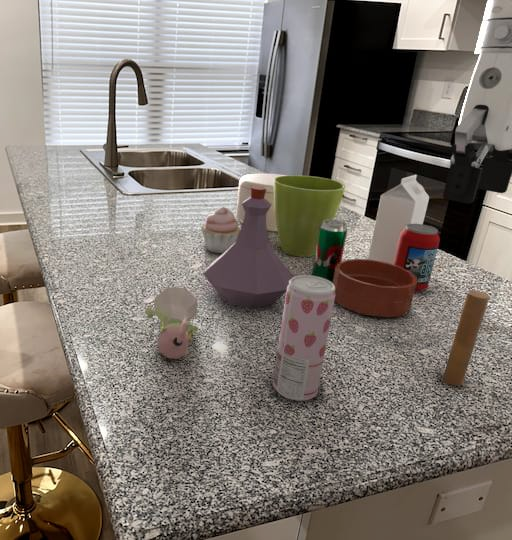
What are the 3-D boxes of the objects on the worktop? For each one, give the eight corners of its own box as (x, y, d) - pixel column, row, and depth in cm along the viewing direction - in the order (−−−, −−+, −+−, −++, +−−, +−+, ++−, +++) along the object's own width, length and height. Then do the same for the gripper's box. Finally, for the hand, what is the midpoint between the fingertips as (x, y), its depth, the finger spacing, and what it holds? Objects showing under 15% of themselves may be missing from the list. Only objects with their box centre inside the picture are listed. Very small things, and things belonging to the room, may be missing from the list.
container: (300, 216, 144) (306, 175, 140) (306, 236, 128) (314, 189, 123) (236, 211, 147) (240, 170, 143) (234, 229, 130) (238, 184, 126)
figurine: (142, 307, 83) (134, 360, 70) (160, 269, 80) (155, 318, 67) (190, 326, 84) (191, 383, 71) (210, 290, 81) (215, 342, 68)
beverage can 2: (409, 296, 96) (424, 235, 91) (381, 282, 101) (394, 224, 97) (434, 291, 98) (450, 231, 94) (405, 278, 104) (419, 221, 99)
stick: (457, 376, 71) (483, 290, 66) (465, 386, 69) (493, 298, 64) (439, 375, 71) (464, 289, 66) (447, 385, 69) (473, 297, 64)
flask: (309, 298, 93) (328, 190, 86) (258, 327, 82) (274, 205, 75) (236, 272, 104) (246, 173, 96) (182, 294, 93) (189, 185, 85)
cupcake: (206, 257, 111) (209, 212, 107) (194, 243, 119) (196, 201, 116) (246, 255, 113) (251, 211, 109) (231, 242, 121) (236, 200, 118)
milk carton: (366, 262, 112) (384, 175, 105) (381, 255, 116) (399, 171, 109) (399, 271, 107) (420, 181, 100) (413, 264, 112) (434, 177, 105)
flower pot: (287, 236, 127) (296, 172, 121) (344, 253, 117) (357, 183, 111) (252, 249, 117) (260, 180, 111) (311, 268, 107) (323, 193, 101)
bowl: (393, 290, 98) (400, 261, 96) (421, 322, 86) (429, 290, 83) (323, 285, 99) (328, 256, 96) (340, 317, 87) (347, 284, 84)
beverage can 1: (326, 392, 66) (347, 286, 60) (297, 407, 63) (316, 297, 57) (292, 372, 70) (308, 270, 65) (263, 385, 67) (277, 279, 62)
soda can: (342, 281, 101) (353, 223, 96) (329, 288, 98) (340, 228, 93) (318, 274, 104) (328, 217, 100) (305, 280, 101) (315, 222, 96)
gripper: (529, 34, 48) (479, 213, 54) (583, 44, 58) (535, 193, 64) (446, 36, 53) (409, 198, 59) (509, 44, 63) (471, 182, 70)
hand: (475, 195), depth 62 cm, fingers open, 9 cm apart
